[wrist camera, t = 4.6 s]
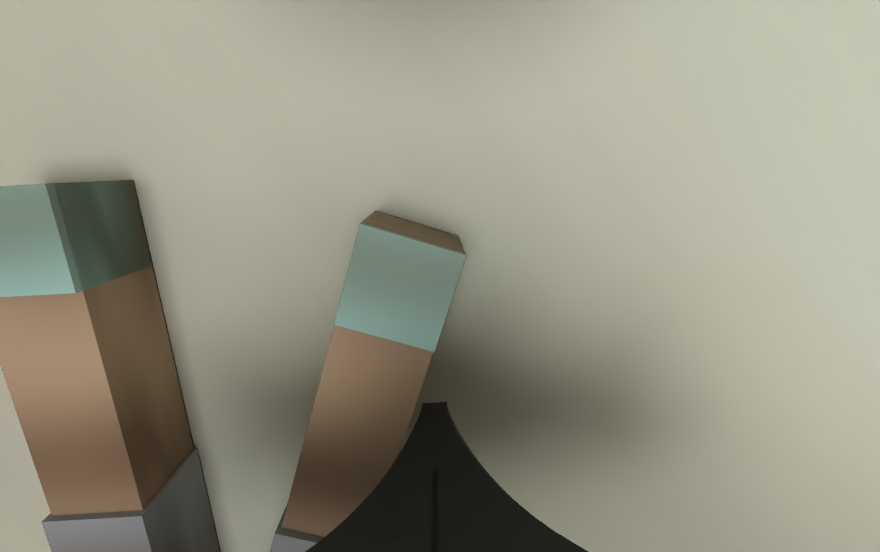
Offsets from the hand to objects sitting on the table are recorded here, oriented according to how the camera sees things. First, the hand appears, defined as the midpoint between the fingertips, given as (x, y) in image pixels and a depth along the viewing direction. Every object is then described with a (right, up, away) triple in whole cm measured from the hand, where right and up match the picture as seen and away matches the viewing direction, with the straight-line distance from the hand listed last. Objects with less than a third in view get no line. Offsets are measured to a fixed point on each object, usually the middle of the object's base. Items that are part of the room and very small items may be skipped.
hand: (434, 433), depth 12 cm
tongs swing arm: (-3, -1, +1) cm, 3 cm away
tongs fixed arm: (-8, -2, +2) cm, 9 cm away
